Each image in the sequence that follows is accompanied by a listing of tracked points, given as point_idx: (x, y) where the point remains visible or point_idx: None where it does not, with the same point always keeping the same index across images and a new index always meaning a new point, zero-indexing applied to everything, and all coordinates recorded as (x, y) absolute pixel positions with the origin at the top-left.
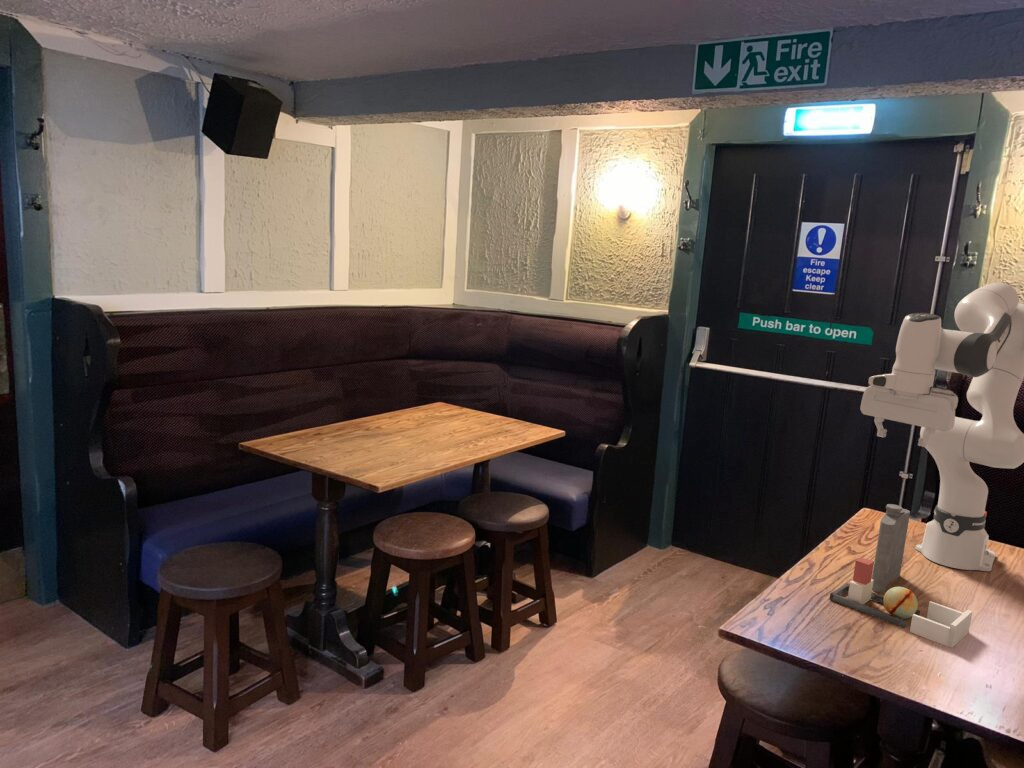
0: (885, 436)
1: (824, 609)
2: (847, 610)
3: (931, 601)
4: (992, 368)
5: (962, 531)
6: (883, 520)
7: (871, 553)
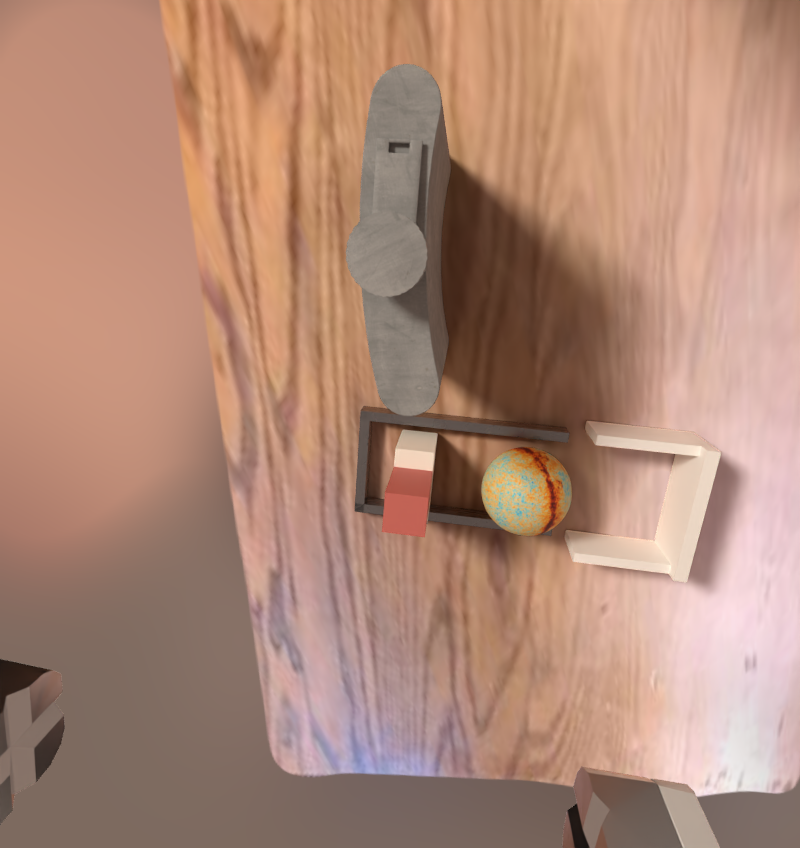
0: (55, 674)
1: (371, 564)
2: None
3: (600, 436)
4: None
5: None
6: (385, 375)
7: (308, 7)
